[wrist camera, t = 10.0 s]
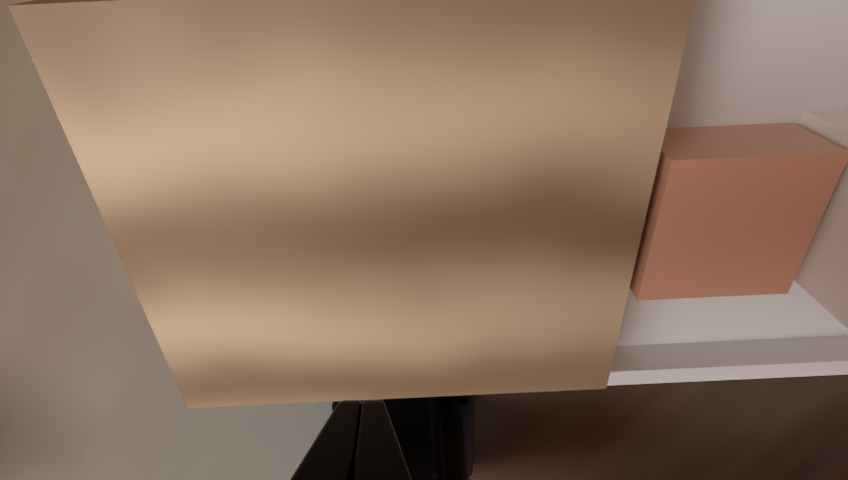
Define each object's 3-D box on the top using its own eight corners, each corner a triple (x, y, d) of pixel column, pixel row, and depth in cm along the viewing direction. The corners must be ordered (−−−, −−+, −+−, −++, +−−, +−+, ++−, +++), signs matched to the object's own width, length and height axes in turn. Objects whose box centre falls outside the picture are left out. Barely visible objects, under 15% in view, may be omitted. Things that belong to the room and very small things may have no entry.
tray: (906, 335, 22) (948, 369, 20) (591, 350, 22) (606, 385, 20) (1190, -103, 13) (1305, -108, 12) (674, -79, 13) (713, -80, 12)
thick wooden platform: (583, 334, 21) (606, 388, 19) (214, 351, 21) (187, 408, 19) (648, -36, 14) (701, -28, 11) (81, -9, 14) (8, 5, 11)
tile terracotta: (744, 251, 19) (787, 293, 16) (611, 258, 19) (637, 300, 16) (792, 122, 16) (851, 152, 14) (636, 129, 16) (671, 160, 14)
